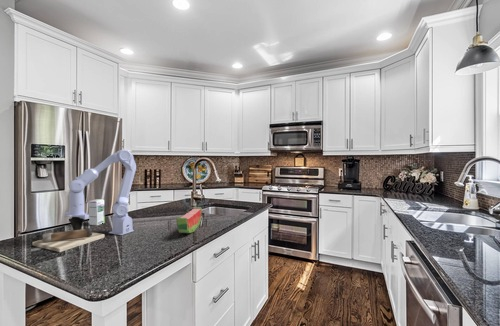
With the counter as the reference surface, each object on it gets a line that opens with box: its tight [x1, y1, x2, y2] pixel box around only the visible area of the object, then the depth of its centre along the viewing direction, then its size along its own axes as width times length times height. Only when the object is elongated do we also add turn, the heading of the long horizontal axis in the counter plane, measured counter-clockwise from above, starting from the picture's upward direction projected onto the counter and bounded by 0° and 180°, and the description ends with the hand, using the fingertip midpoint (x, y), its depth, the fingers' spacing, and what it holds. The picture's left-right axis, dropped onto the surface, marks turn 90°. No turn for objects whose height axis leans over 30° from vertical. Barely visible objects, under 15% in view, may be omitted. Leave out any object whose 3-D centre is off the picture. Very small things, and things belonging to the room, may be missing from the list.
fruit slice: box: [176, 206, 202, 234], centre depth 130 cm, size 26×6×10 cm, turn 175°
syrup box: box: [88, 198, 106, 226], centre depth 143 cm, size 6×6×14 cm
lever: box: [42, 227, 93, 242], centre depth 112 cm, size 19×4×3 cm, turn 119°
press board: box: [32, 231, 105, 253], centre depth 114 cm, size 20×20×2 cm
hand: (77, 232), depth 116 cm, fingers closed
